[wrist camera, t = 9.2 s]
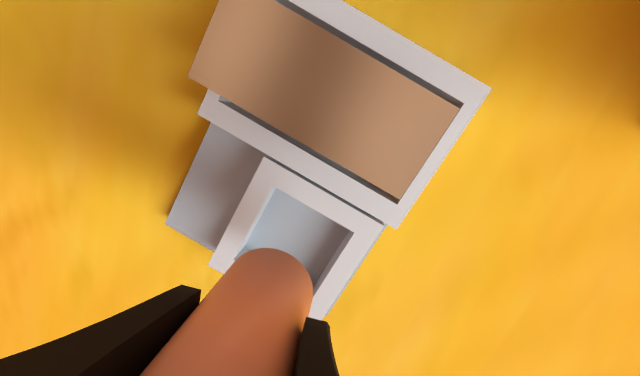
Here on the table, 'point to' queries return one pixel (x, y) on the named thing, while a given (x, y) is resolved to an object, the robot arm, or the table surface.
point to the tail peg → (243, 322)
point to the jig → (309, 169)
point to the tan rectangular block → (321, 91)
